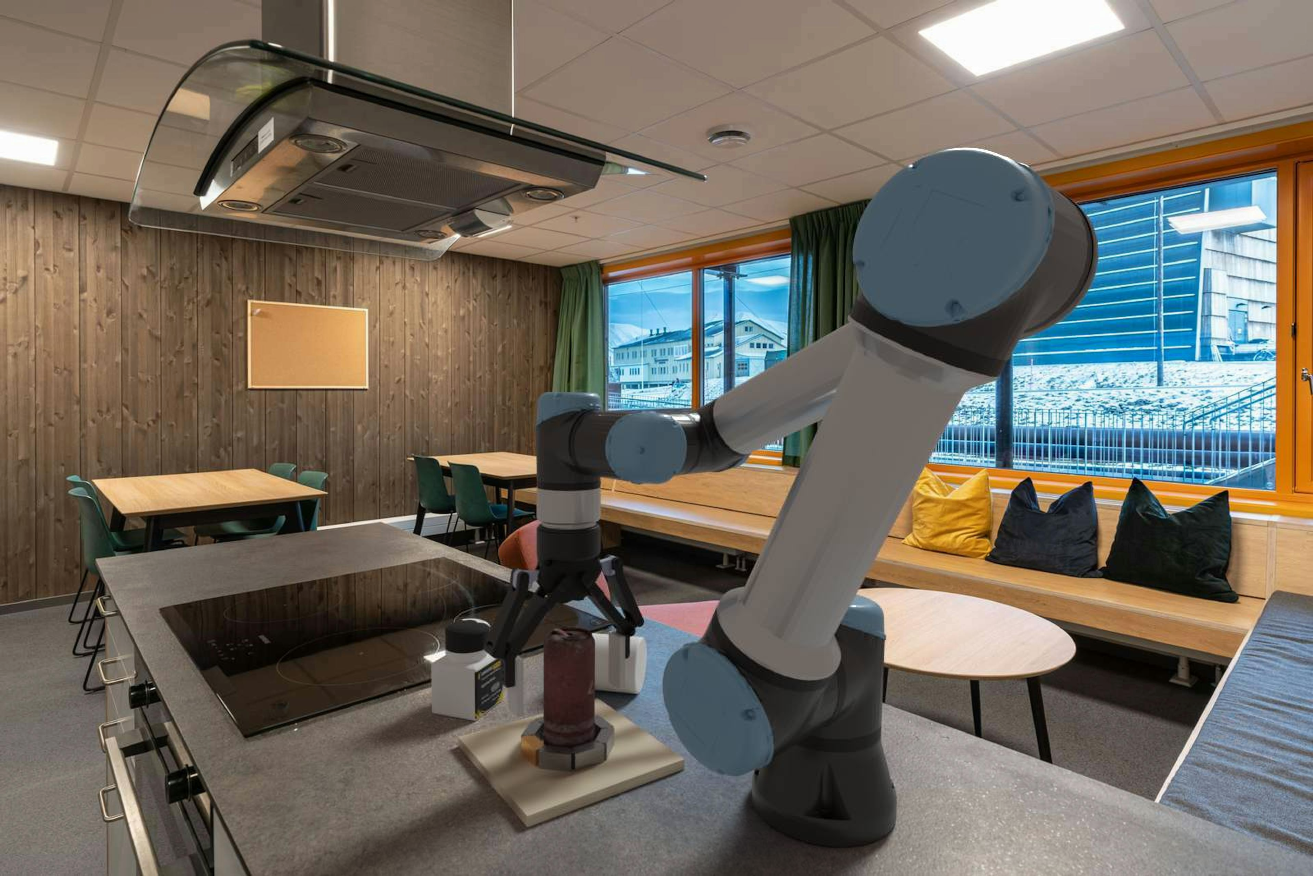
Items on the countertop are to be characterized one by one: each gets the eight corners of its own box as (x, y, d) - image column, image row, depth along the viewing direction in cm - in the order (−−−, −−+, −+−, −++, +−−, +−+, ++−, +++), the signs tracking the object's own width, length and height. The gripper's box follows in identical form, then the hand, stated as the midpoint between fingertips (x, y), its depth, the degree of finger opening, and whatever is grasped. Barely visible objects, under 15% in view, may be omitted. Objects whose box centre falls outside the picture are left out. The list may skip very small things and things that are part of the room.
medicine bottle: (475, 722, 95) (475, 633, 94) (430, 714, 97) (429, 627, 97) (504, 700, 102) (503, 617, 101) (461, 693, 104) (460, 612, 103)
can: (563, 731, 90) (563, 622, 89) (604, 744, 87) (605, 631, 86) (531, 751, 85) (531, 636, 84) (573, 766, 82) (574, 646, 81)
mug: (634, 703, 102) (635, 648, 101) (567, 696, 104) (567, 642, 103) (652, 671, 113) (652, 621, 113) (591, 665, 115) (591, 617, 115)
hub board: (684, 768, 84) (684, 759, 84) (527, 827, 72) (527, 816, 72) (597, 706, 100) (597, 698, 100) (458, 746, 89) (458, 736, 88)
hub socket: (628, 753, 85) (628, 737, 85) (548, 780, 79) (548, 763, 79) (584, 719, 93) (584, 705, 93) (509, 741, 87) (509, 726, 87)
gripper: (638, 509, 95) (637, 665, 96) (454, 528, 80) (455, 712, 82) (672, 517, 88) (670, 684, 90) (479, 540, 74) (480, 738, 75)
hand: (568, 698), depth 86 cm, fingers open, 13 cm apart
